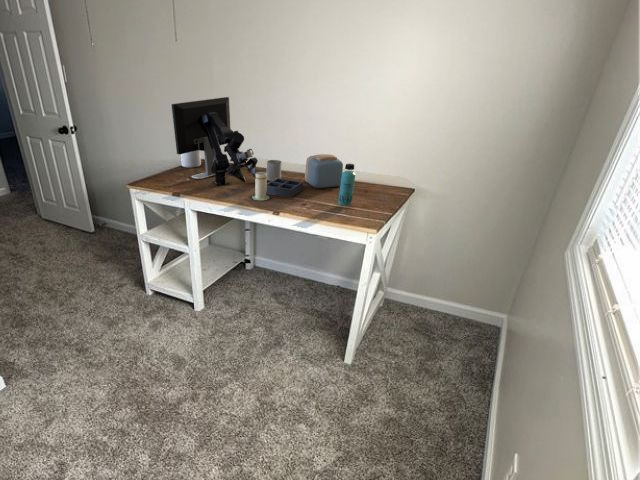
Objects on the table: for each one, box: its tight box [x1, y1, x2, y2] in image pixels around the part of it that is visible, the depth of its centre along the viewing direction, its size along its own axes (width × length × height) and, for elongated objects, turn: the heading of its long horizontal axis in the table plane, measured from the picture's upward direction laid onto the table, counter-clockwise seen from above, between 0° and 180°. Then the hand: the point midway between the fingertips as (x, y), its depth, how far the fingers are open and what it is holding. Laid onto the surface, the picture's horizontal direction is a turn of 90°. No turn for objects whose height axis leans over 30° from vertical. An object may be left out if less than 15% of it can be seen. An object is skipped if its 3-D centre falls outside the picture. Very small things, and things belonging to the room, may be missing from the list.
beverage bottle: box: [337, 163, 357, 206], centre depth 195 cm, size 6×7×20 cm
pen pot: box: [254, 171, 268, 199], centre depth 209 cm, size 6×6×12 cm
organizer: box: [266, 177, 304, 199], centre depth 219 cm, size 15×15×4 cm
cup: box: [265, 159, 283, 182], centre depth 237 cm, size 8×8×10 cm
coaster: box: [251, 194, 270, 201], centre depth 212 cm, size 9×9×1 cm
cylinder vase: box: [180, 150, 202, 169], centre depth 261 cm, size 12×12×25 cm
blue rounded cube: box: [304, 153, 344, 190], centre depth 227 cm, size 16×16×16 cm
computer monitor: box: [171, 96, 231, 180], centre depth 239 cm, size 41×8×40 cm, turn 136°
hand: (251, 179), depth 211 cm, fingers open, 9 cm apart
